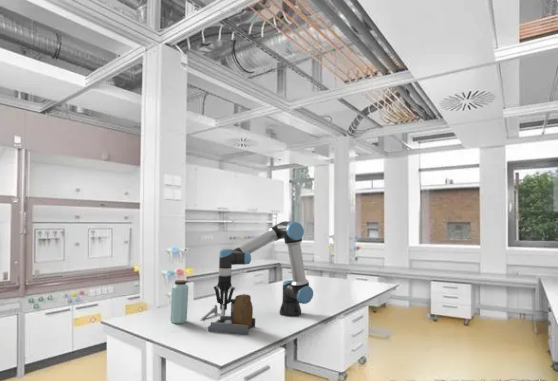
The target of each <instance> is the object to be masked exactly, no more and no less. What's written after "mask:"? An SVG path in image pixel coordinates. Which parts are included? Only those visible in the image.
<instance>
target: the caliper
mask: <svg viewBox="0 0 558 381" xmlns="http://www.w3.org/2000/svg"><path fill="white" fill-rule="evenodd" d="M212 314H214V315H217V314H218V305H217V304H215V305H214V307H213V308H211V309H210V310H209V312H206V314H204V316H202V317H201V319H200V321H205V319H207V318H208V317H209V316H210V315H212Z"/></svg>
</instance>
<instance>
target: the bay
mask: <svg viewBox="0 0 558 381" xmlns="http://www.w3.org/2000/svg"><path fill="white" fill-rule="evenodd" d="M219 316H220V318H219V319H216V320H215V321H211V322H210V325H208V327H207V332H211V333H212V332H214V333H223V334H232V335H241V336H242V335H245V336H248V334H249V330H248V325H243V324H227V323H225V321H226V320H228V321H230V320H231V315H224V316H221V315H219ZM250 328H256V318H255V317H252V325H251V327H250Z"/></svg>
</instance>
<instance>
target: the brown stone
mask: <svg viewBox="0 0 558 381" xmlns="http://www.w3.org/2000/svg"><path fill="white" fill-rule="evenodd" d="M234 299H235V303H234V315H233V324H243V325H248V331H249V330H250V329H251V328H252V327H251V325H252V318H253V316H254V315H253V313H254V312H253V310H254V309H253V303H252V298H251V295H250V294H245V293H244V294H239V295H236V296H235V298H234Z"/></svg>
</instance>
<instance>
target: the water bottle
mask: <svg viewBox="0 0 558 381" xmlns="http://www.w3.org/2000/svg"><path fill="white" fill-rule="evenodd" d="M188 302H189V285H188V284H187V280H186V279H176V280H175V281H174V285H173V286H172V287H171V302H170V304H171V305H170V323H172V324H175V325H176V324H180V325H181V324H184V323H186V321H187V319H188V306H189V304H188Z"/></svg>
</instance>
